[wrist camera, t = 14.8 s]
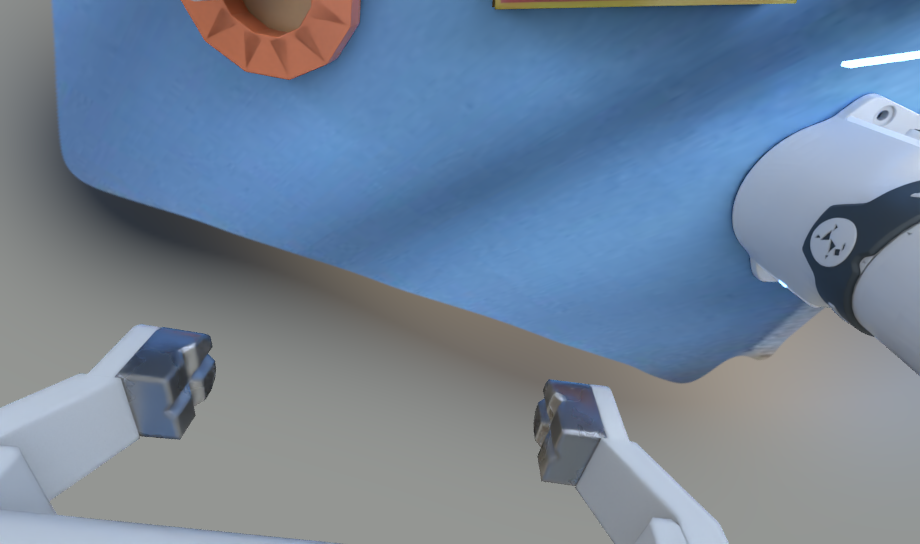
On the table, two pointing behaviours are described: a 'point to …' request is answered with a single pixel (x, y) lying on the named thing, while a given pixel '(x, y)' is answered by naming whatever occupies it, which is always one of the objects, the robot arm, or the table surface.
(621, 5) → the hardcover book
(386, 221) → the table surface
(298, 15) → the stand
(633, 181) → the table surface
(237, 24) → the ring
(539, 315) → the table surface
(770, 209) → the robot arm
